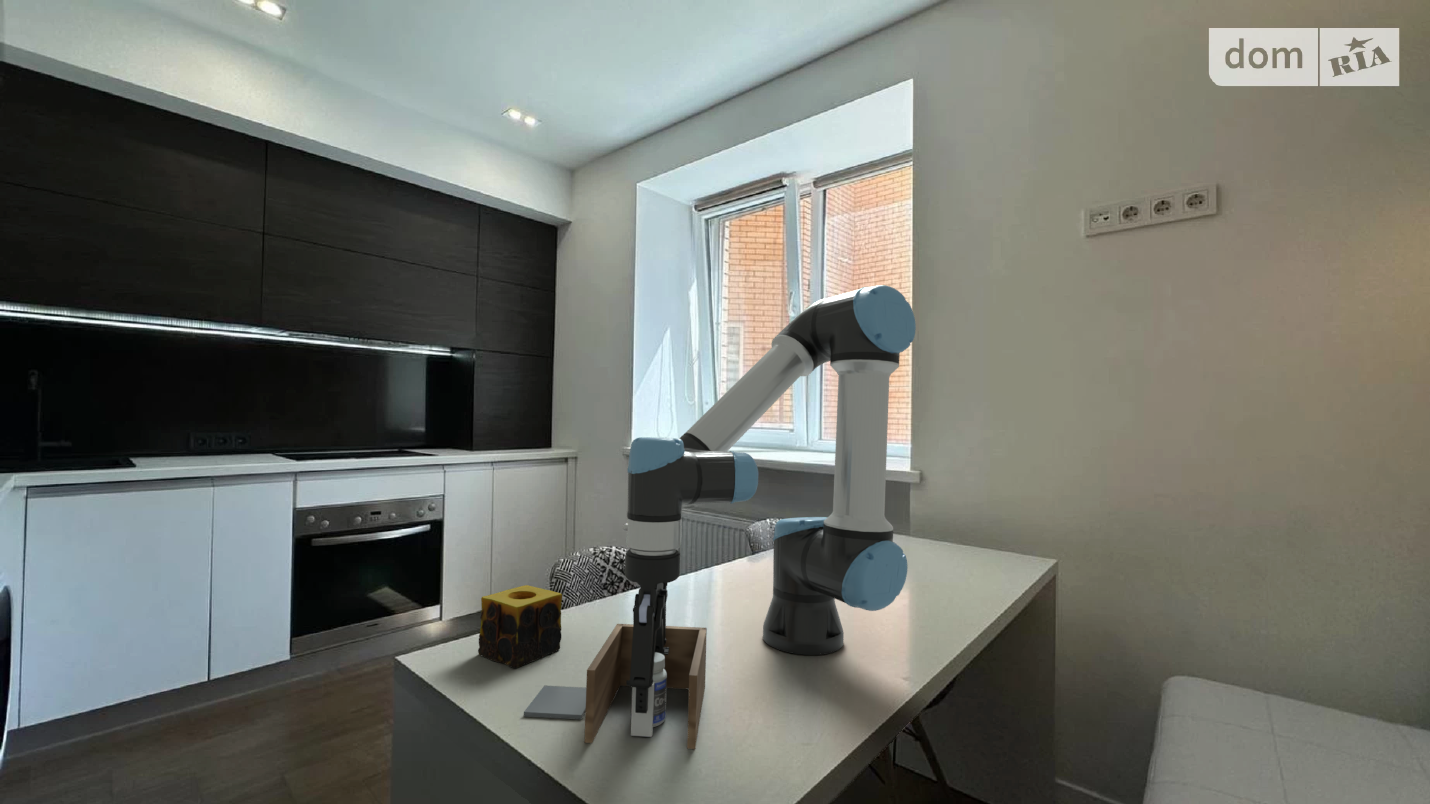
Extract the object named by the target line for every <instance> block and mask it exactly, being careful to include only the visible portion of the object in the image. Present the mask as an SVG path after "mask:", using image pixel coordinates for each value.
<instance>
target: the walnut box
mask: <svg viewBox="0 0 1430 804" xmlns="http://www.w3.org/2000/svg"><path fill="white" fill-rule="evenodd" d="M707 630H708V628H707V627H702V626H701V627H700V626H699V627H698V626H697V627H696V626H679V625H678V626H676V625H666V644H665V645H664V647H669V654H668V655H664V657H665V667H664V669H665V671H666V673H667V689H676V690H677V689H678V690H679V689H682V690H688V701H687V703H688V705H687V706H688V707H687V708H688V709H687V711H688V712H687V714H688V715H687V741H686V742H687V746H686V749H688V750H689V749H690V750H696V745H697V741H698V736H699V735H698V734H699V726H700V720H701V715H702V708H703V703H704V696H705V691H706V690H705V689H706V673H707V672H706V669H707V667H706V666H707V665H706V664H707V634H708V633H707ZM632 639H633V624H627V623H616V624H615V626H614V628H613V629H612V631H611V633H610V634H609V636H608V637H607V638H606V640H605V642H604V643H603V645H602V646H601V647H600V649H599V651H598V652H597V654H596V655H595V657H594V658H593V660H592V662H590V665H589V666H588V668H587V669H586V685H585V686H586V712H585V714H584V741H583V742H584V744H593V743H594V741H595V738H596V736H597V734H598V733H599V730H600V728H601V726H602V724H603V722H604V720H605V718H606V715H607V714H608V712H609V710H610V709H611V706H612V703H613V702H614V700H615V697H616V695H617V694H618V691H619V689H620V687H621V686H623V687H628V686H627V685H626V681H627V680H630V670H631V655H632Z"/></svg>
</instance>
